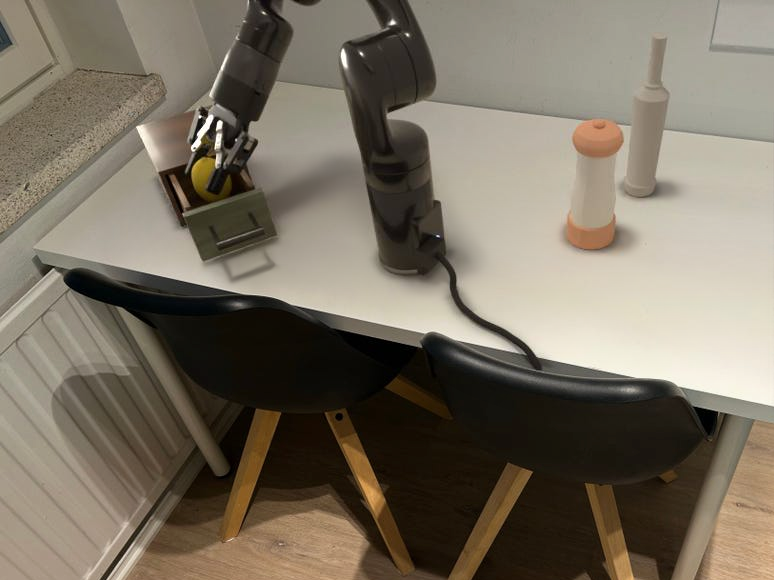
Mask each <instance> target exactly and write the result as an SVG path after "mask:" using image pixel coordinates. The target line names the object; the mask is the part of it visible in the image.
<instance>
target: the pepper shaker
mask: <svg viewBox="0 0 774 580" xmlns="http://www.w3.org/2000/svg"><path fill="white" fill-rule="evenodd" d="M571 139H572V140H571V141H572V145H573V147H574V149H575V151H576V165H575V174H574V179H573V182H572V187H571V190H570V191H571V192H570V206H569V207H570V210H569V212H568V213H567V217H566V218H567V219H566V239H567V241H568V242H569V243H570V244H572V246H575V247H576V248H579V249H583V250H592V251H594V250H600V249H603V248H605V247H607V246H609V245H610V244H611V243H612V242H613V240H614V238H615V229H616V221H617V218H616V213H615V207H616V202H617V195H616V182H615V173H616V163H617V153H618V152H619V151H620V150H621V148H622V146H623V144H624V142H625V140H624V139H625V137H624V132H623V131H622V129H621V127H620V126H619V125H618V123H615V122H614V121H611V120H609V119H604V118H594V119H593V118H592V119H588V120H584V121H582V122H581V123H580V124H578V125H577V126H576V128H575V130H574V131H573V133H572V137H571Z"/></svg>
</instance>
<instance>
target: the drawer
mask: <svg viewBox="0 0 774 580" xmlns="http://www.w3.org/2000/svg"><path fill="white" fill-rule="evenodd" d="M226 159H227V156H225V157H224V162H225V160H226ZM237 163H238V159H237V158H236V161H235V164H237ZM185 171H186V169H183V170H180V171H176V172H173V173H170V174H168V176H169V178H170V181H171V183H172V186H173V188H174V190H175V193H176V195H177V198H178V200H179V202H180V205H181V207H182V209H183V211H184V213H182V214H183V217H184V219H185V221H186V224H185V225H186V226H187V228H188V231H189V233H190V236H191V238H192V240H193V242H194V245H195V247H196V250H197V252H198V255H199V257H200V259H201V261H202V262H203V263H204V262H207V261H209V260H213V259H216V258H218V257H221V256H224V255H227V254H230V253H233V252H235V251H238V250H240V249H243V248H247V247H249V246H252V245H255V244H258V243H261V242H264V241H266V240H269V239H272V238H275V237H277V236H278V232H277V230H276V226H275V223H274V219H273V216H272V214H271V210H270V208H269V204H268V199H267V198H266V197H267V196H266V195H265V191H264V189H263V188H262V187H261V186H260V187H258V188H256V187H255V185H254V183H253V180H252V179H251V180H252V181H251V180H250V178H249V177H248V175H247V174H246V172H245V170H244V169H243V170H242V172H241V173H240V174H237V173H231V174H229V175H230V178H231V183H232V189H231V193H230V195H229V196H228V198H227V199H224V200H221V201H218V202H215V203H211V202H208V201H206V200H204V199H203V198H201V197H200V196H199V194H198V193H197V192H196V190H195V188H194V185H193V182H192V178H190V177H188V176H186V175H185Z"/></svg>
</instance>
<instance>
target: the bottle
mask: <svg viewBox="0 0 774 580" xmlns="http://www.w3.org/2000/svg"><path fill="white" fill-rule="evenodd" d="M667 41H668V34H666V33H663V32H655V33H653V34H652V36H651V44H650V53H649V54H650V55H649V62H648V70H647V76H646V80H644V82H643V84H642V85H640V86H639V87H637V88H636V89H635V90H634V92H633V104H632V114H631V124H630V134H629V143H628V145H629V146H628V155H627V167H626V174H625V176H624V179H623V189H624V191H625V193H626V194H628V195H630V196H632V197H634V198H635V197H636V198H644V197H649V196H650V195H652V194H653V192H654V191H655V188H656V185H657V178H656V176H657V169H658V165H659V159H660V158H659V157H660V152H661V146H662V141H663V136H664V129H665V125H666V120H667V119H666V118H667V113H668V108H669V103H670V102H669V101H670V97H671V96H670V95H671V94H670V91H669V90H668V89H667V88H666V87H665V86H663V85H664V83H663V81H662V75H663V66H664V59H665V52H666V49H667Z"/></svg>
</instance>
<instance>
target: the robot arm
mask: <svg viewBox="0 0 774 580" xmlns="http://www.w3.org/2000/svg"><path fill="white" fill-rule="evenodd" d="M289 1H291V2H292V3H295V4H297V5H299V6H303V7H314V6H316V5H318V4H320V3H321V1H322V0H289ZM284 2H285V0H247V2H246V3H247V4H246V11H245V14H244V16H243V19H242V21H241V23H240V26H239V28H238V30H237V33H236V35H235V38H234V40H233V42H232V43H231V45H230V47H229V48H228V51H227V52H226V54H225V56H224V58H223V61H222V63H221V66H220V68H219V71H218V73H217V75H216V78H215V80H214V83H213V85H212V87H211V90H210V93H209V95H208V96H209V99H210V100H211V101H212V102H214V103H213V104H212V105H213V107H212V108H211V109H210V110H209V109H206V108H204V107H205V106H202V105H197V108H196V109H197V110H196V109H195V110H196V113H195V116H194V120H193V123H192V126H191V130H190V133H189V136H188V140H187V142H188V143H189V144H191V145H192V151H193V153H192V156H191V158H190V160H189V163H188V165H187V168H186V171H185V175H186V176H188V177H190V178H192V168H193V166H194V164H195V163H196V162H197V161H198V160H200V159H201V158H203V157H205V156H206V157H208V156H209V155H210V154H211V152H212V151H213V150H214V149H215V151H216V153H217V158H216V164H215V167H216V168H215V167H214V168H213V170H212V172H211V175H210V177H209V179H208V182H207V184H206V186H205V190H206V191H208V192H209V193H212V194H215V195H219V194H220V192H221V191H222V189H223V186H224V184H225V182H226V179H227V177H228V175H229V174H231V173H237V174H240V173H241V172H242V170H243V169H244V167H245V165H246V164H248V162H249V160H250V158H251V156H253V153H254V151H255V150H256V148H257V147H258V145H259V140H258V139H257V138H255V137H253V136H252V135H250V133H249V129H250V125H251V122H256V123H257V122H259V120H260V118H261V116H262V114H263V112H264V109H265V107H266V106H267V103H268V99H269V98H270V95H271V93H272V91H273V88H274V86H275V84H276V81H277V79H278V76H279V72H280V68H281V66H282V63H283V61H284V59H285V57H286V55H287V52H288V50H289V47H290V45H291V43H292V40H293V37H294V33H295V32H294V27H293V25H292V23H291V22H290V21H289V20H288V19H287V18H286V17H285V16H283V10H284ZM365 2H366V3H367V5H368V6H369V8H370V9H371V12H372V13H373V16H374V17H375V19H376V21H377V24H378V25H379V26H380V29H379V30H377V31H374V32H370V33H367V34H363V35H360V36H357V37H355V38H351V39H349V40H346V41H345V42H344V43H342V44H341V46H340V49H339V52H338V69H339V74H340V79H341V84H342V88H343V92H344V94H345V100H346V103H347V107H348V111H349V115H350V120H351V125H352V129H353V133H354V137H355V139H356V144H357V147H358V149H359V155H360V159H361V164H362V169H363V175H364V181H365V186H366V192H367V196H368V202H369V207H370V212H371V213H370V214H371V218H372V224H373V228H374V234H375V240H376V245H377V250H378V258H379V259H378V260H379V263H380V265H381V266H382V267H383V268H384V269H385V270H386V271H388V272H390V273H393V274H395V275H402V276H413V275H421V276H426V275H427V274H428V273H429V272H430V271H431V270H433V268H434V267H435V266H436V265H437V264H438V263H440V264H441V265H442V266H443V267H444V269H445V270H446V272H447V273H448V276H449V291H450V293H451V297H452V299H453V302H454V303H455V305H456V306H457V308H458V309H459V310H460V311H461V312H462V313H463V314H464V315H465V316H466V317H468V318H469V319H470V320H471V321H472V322H474V323H475V324H476V325H478V326H480V327H482V328H484V329H487V330H489V331H491V332H493V333H495V334H498V335H500V336H501V337H502V338H505V339H506V340H507V341H509V343H512V344H513V345H515V346H516V347H517V348H518V349H520V350H521V351H522V352H523V353H524V354H525V355H526V356H527V358H528V359H529V361H530V363H531V364H532V366H533V368H534V370H536V371H538V370H539V371H538V372H540V371H542V370H543V367H542V364H541V362H540V360H539V358H538V356H537V355H536V354H535V352H534V351H533V350H532V348H531V347H530V346H529V345H528V344H527V343H526V342H525V341H523V340H522V339H521V338H519V337H517V336H516V335H514V334H512V333H511V332H510V331H508V330H507V329H505V328H503V327H502V326H499V325H497V324H495V323H493V322H490V321H488V320H486V319H484V318H483V317H480V316H479V315H478V314H477V313H475V312H474V311H473V310H471V309H470V308H469V307H468V306H467V305H466V304H465V303H464V302H463V300H462V298H461V296H460V294H459V291H458V287H457V281H458V280H457V278H458V277H457V274H456V271H455V269H454V267H453V265H452V264H451V263H450V261H449V260H448V259H447V258H446V257H445V256H446V254H447V249H446V247H447V246H446V238H445V237H446V236H445V228H444V218H443V209H442V208H443V207H442V202H441V200H439V199H436V197H435V189H434V181H433V171H432V162H431V161H432V160H431V152H430V141H429V136H428V134H427V132H426V131H425V129H424V128H422V127H421V126H420V125H419V124H417V123H414V122H412V121H408V120H404V119H390V118H388V114H391V113H394V112H396V111H398V110H401V109H405V108H407V107H410V106H412V105H415V104H418V103H421V102H424V101H426V100H427V99H430V98H431V97H433V95H434V94H435V92H436V88H437V72H436V66H435V62H434V58H433V55H432V52H431V49H430V46H429V43H428V41H427V39H426V37H425V34H424V32H423V30H422V28H421V24H420V23H419V21H418V19H417V16H416V14H415V11H414V9H413V8H412V5H411V2H410V1H409V0H365ZM198 130H199V131H200V132H199V133H198V137H199V138H198V139H197V138H196V135H197V132H198ZM206 144H208V145H207V146H206ZM231 148H232V150H230V149H231ZM228 149H229V150H228ZM225 156H227V159H226V160H225V162H224V157H225ZM206 157H205V158H206ZM236 158H240V160H239V161H238V163H237V164H235V161H236Z"/></svg>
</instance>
